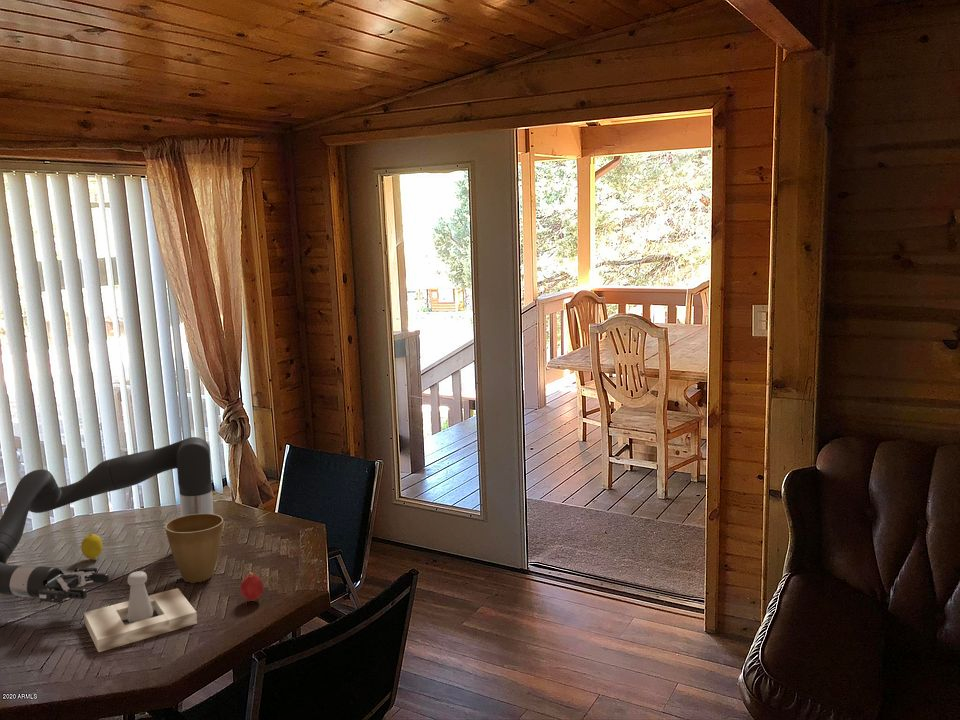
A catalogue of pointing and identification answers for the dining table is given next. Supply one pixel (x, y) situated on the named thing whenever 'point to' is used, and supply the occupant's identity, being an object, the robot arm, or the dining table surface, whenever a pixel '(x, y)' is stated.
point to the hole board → (114, 633)
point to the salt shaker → (138, 598)
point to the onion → (252, 587)
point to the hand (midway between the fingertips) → (96, 586)
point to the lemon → (91, 546)
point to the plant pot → (195, 544)
